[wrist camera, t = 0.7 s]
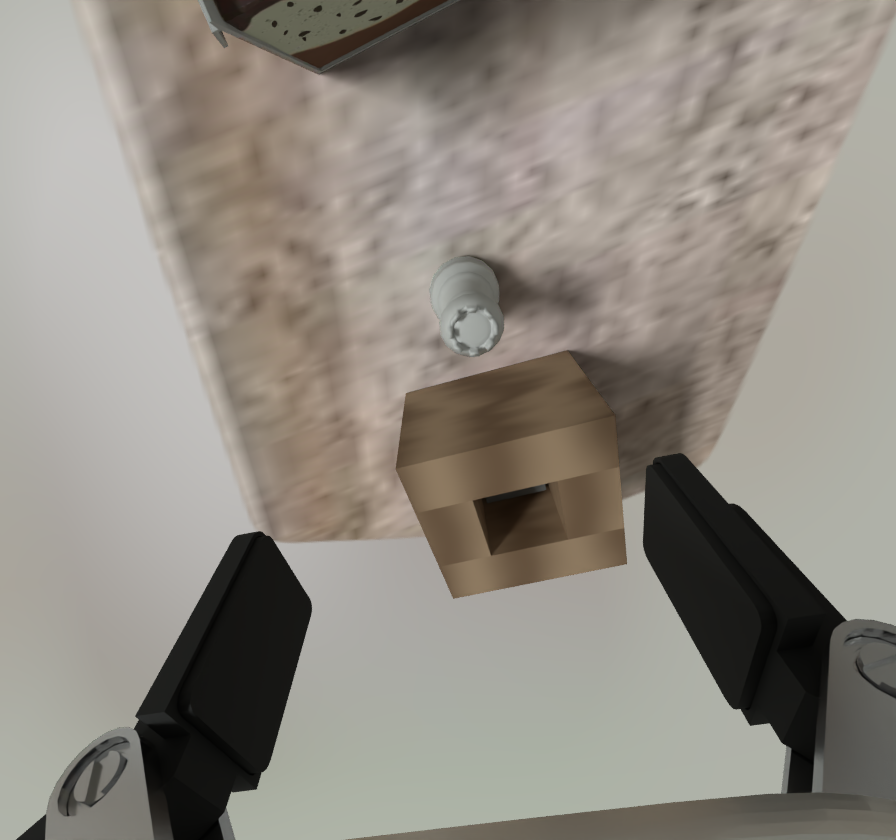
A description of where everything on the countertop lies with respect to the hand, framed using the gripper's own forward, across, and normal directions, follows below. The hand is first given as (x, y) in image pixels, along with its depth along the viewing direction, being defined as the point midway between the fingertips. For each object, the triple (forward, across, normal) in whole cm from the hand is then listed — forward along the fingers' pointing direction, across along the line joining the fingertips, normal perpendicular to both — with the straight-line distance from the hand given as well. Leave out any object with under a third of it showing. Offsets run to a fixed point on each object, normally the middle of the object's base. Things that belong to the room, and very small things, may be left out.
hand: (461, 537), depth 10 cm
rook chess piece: (+20, -2, -1) cm, 20 cm away
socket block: (+20, -2, +11) cm, 23 cm away
